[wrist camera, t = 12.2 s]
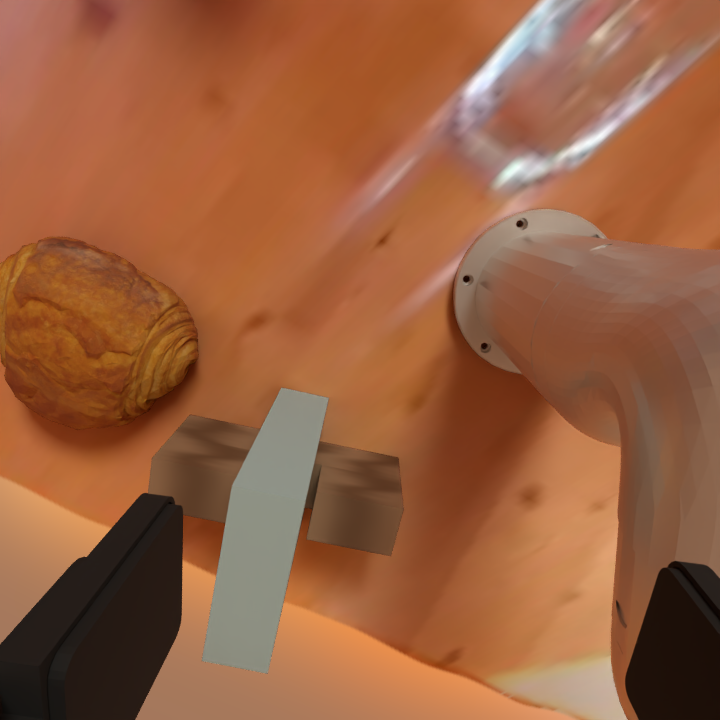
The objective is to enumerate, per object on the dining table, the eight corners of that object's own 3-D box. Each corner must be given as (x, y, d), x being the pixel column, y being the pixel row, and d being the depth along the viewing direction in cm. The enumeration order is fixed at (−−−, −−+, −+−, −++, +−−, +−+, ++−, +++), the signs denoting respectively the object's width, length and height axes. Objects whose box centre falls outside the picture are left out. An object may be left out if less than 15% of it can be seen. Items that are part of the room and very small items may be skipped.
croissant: (69, 206, 42) (-13, 193, 34) (232, 310, 42) (188, 321, 34) (1, 355, 45) (-88, 374, 37) (153, 453, 45) (96, 492, 37)
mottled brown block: (398, 457, 45) (403, 509, 37) (387, 498, 46) (390, 556, 38) (190, 414, 44) (151, 457, 37) (184, 456, 45) (146, 507, 38)
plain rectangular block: (281, 387, 43) (231, 486, 28) (328, 397, 44) (305, 501, 28) (257, 512, 47) (201, 660, 31) (301, 521, 47) (267, 673, 32)
